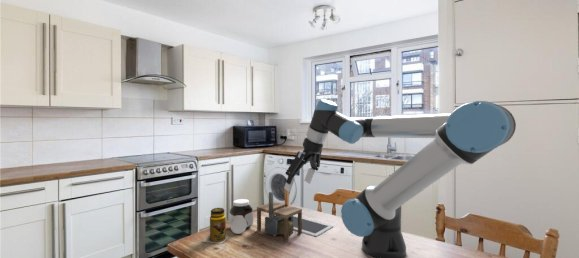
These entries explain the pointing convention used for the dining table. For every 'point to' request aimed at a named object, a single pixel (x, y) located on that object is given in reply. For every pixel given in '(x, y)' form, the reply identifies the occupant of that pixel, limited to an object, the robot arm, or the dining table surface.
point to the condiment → (217, 226)
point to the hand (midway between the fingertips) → (297, 185)
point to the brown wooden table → (284, 213)
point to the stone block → (281, 227)
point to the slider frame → (272, 220)
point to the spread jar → (240, 216)
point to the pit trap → (311, 226)
